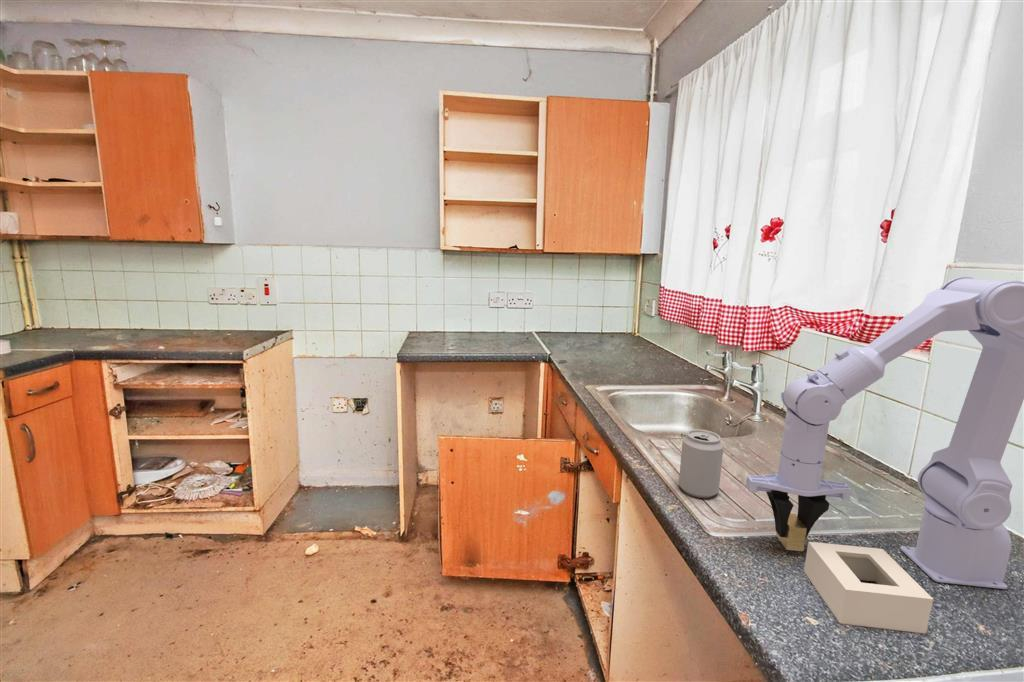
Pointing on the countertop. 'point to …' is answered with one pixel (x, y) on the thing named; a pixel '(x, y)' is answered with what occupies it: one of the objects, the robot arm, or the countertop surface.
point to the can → (701, 463)
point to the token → (794, 534)
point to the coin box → (867, 587)
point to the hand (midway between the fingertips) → (790, 534)
